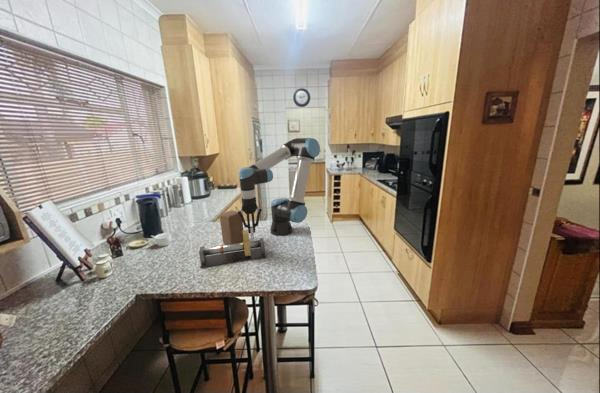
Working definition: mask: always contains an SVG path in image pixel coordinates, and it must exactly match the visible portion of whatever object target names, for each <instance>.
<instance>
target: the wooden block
mask: <svg viewBox="0 0 600 393" xmlns="http://www.w3.org/2000/svg"><path fill="white" fill-rule="evenodd" d="M219 221H220V222H219V224H220V229H221V230H220V231H221V238H222V243H223V244H224V245H230V244H237V243H244V241H243V232H242V231H243V230H244V224H243V221H242V219H241V216H240V215H239V214H238V210H231V209H230V210H228V211H226V212H222V213H220V214H219ZM223 244H222V245H223Z"/></svg>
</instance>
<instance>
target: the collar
mask: <svg viewBox="0 0 600 393" xmlns="http://www.w3.org/2000/svg"><path fill="white" fill-rule="evenodd" d="M242 232H243V241H244V242H243V243H244V250H245V256H250V255H251V253H250V243H249V242H250V233H248V229H245V230H244V229H243V231H242Z"/></svg>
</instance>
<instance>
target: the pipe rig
mask: <svg viewBox="0 0 600 393" xmlns="http://www.w3.org/2000/svg"><path fill="white" fill-rule="evenodd" d="M249 243H250V253H251V255H250V256H245V250H244V242H243V243H237V244H230V245H225V244H224V245H223V244H222V245H221V244H220V245H217V246H211V247H210V246H209V247H205V246H200V247H199V251H198V253H199V260H200V269H205V268H212V267H218V266H223V265H224V266H225V265H230V264H236V262H237V263H243V262H247V261H248V262H249V261H253V260H261V259H266V258H267V254H266V244H265V240H264V237H260V238H259V240H252V241H249Z"/></svg>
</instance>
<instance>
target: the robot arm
mask: <svg viewBox="0 0 600 393" xmlns="http://www.w3.org/2000/svg"><path fill="white" fill-rule="evenodd" d="M320 153H321V147H320V144H319V140H317V139H316V138H314V137H301V138H300V137H299V138H297V137H296V138H293V139H291V140H289V141H287V142H285V143H283V144H282V145H281V146H280V147H279V149H276V150H275V151H274V152H272V153H270V154H268V155H266V156H264V157H263V158H261V159H260V160H258V161H257V162H255V163H253V164H252V165H250V166H248V167H242V168H239V170H238V178H239V188H240V196H241V208H240V209H239V210H237V212H238V214H239V215H240V216H241V219H242V221H243V228H247V230H248V234H250V239H251V240H255V237H254V236H255V235H254V234H255V233H256V227H258V226H259V223H260V217H261V212H262V207H258V205H257V198H256V185H262V184H267V183H270V182H272V181H273V178H274V173H273V171H272V170H271V169H272V168H273V167H275V166H277V165H278V164H280V163H281V162H283V161H284V160H286V159H287V160H289V159H291V158H292V157H295V158H296V159H297V163H296V169H295V173H294V178H293V184H292V189H291V193H290V197H289V198H287V197H282V198H276V199H273V200H271V202H270V210H271V225H270V230H269V231H270V234H271V235H273V236H287V235H290V234H291V233H292V232H293V226H292V223H295V224H296V223H297V224H300V223H302V222H303V221H304V220H306V218H307V216H308V208H307V206H306V201H305V195H306V191H307V185H308V179H309V174H310V171H311V164H312V163H313V162H314V161H315V159H316V158H317V157H318V156H319V155H320ZM256 211H257V213H256ZM243 212H244V214H245V215H246V220H245V217H244V215H243ZM255 213H256V219H255ZM250 216H251V221H250ZM246 221H247V222H246ZM291 222H292V223H291ZM251 224H252V226H251Z"/></svg>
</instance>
